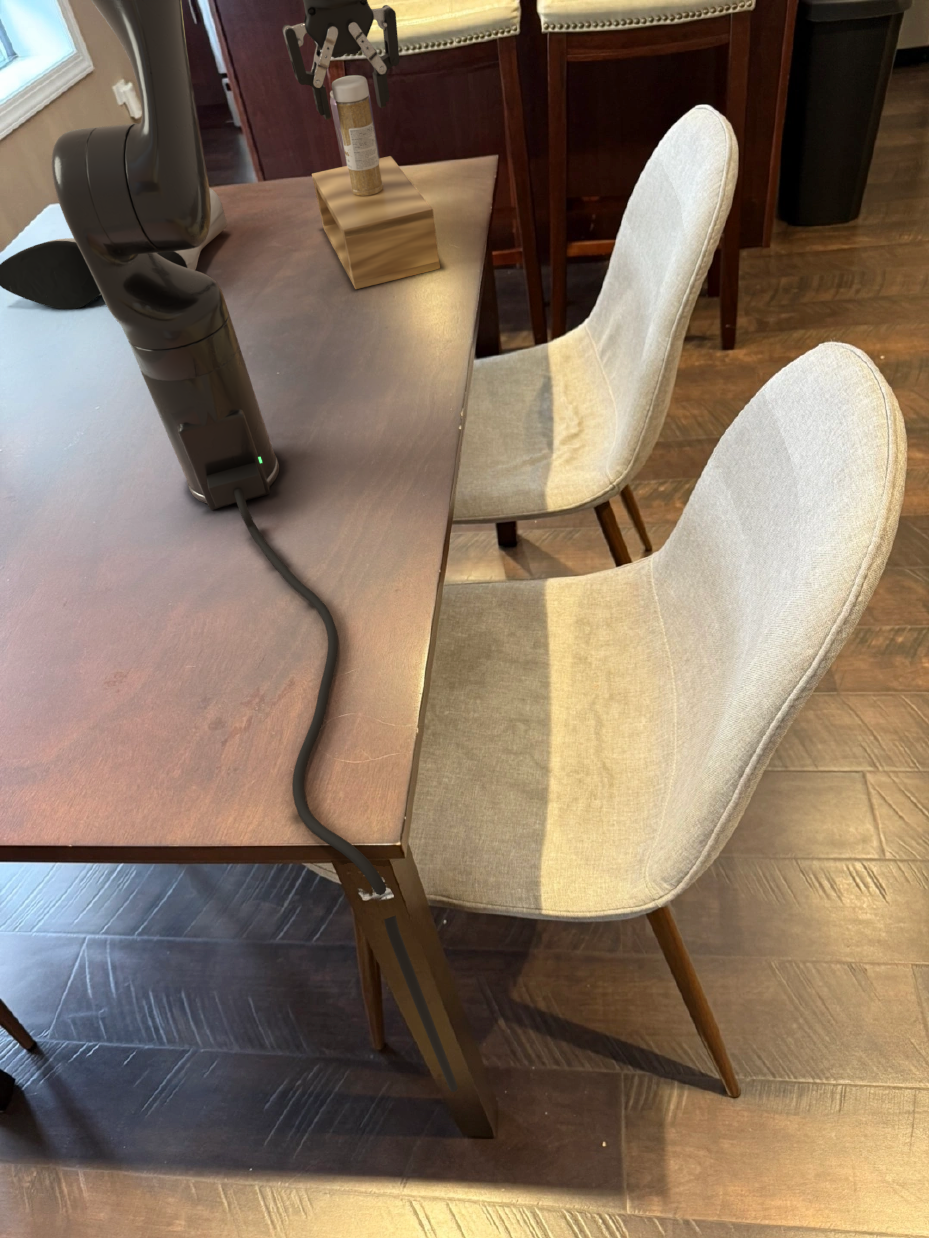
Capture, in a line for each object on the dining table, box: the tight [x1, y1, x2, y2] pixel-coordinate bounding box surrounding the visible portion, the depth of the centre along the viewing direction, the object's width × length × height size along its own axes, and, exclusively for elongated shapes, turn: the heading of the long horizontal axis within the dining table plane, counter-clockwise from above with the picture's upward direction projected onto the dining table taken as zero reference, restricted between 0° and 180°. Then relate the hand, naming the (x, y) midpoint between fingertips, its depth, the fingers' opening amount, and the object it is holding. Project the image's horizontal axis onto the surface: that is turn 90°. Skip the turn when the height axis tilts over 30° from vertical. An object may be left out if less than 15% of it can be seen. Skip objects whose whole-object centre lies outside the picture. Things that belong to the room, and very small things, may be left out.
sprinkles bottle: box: [331, 74, 384, 196], centre depth 114 cm, size 5×5×13 cm
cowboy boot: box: [0, 187, 227, 310], centre depth 126 cm, size 10×28×25 cm
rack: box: [311, 155, 441, 290], centre depth 122 cm, size 22×12×8 cm, turn 18°
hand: (354, 111), depth 112 cm, fingers open, 6 cm apart
